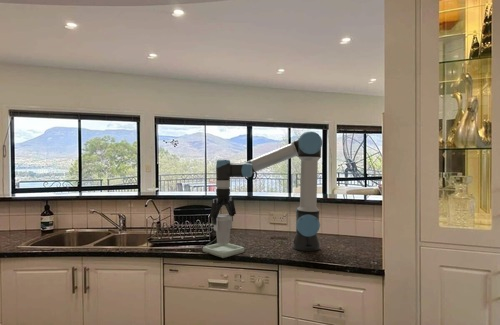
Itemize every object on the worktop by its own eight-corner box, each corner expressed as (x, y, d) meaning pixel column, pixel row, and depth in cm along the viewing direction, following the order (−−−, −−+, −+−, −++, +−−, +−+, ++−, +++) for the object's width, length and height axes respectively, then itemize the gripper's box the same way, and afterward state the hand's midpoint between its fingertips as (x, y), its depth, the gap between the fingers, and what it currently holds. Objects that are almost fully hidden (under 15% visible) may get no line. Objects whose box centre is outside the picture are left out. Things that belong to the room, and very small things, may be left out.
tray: (244, 252, 176) (244, 247, 176) (223, 258, 165) (223, 253, 165) (223, 246, 188) (223, 241, 188) (202, 251, 177) (202, 246, 177)
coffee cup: (234, 241, 179) (234, 214, 179) (226, 246, 170) (226, 217, 170) (219, 239, 183) (219, 213, 183) (210, 244, 174) (210, 216, 174)
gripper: (233, 186, 186) (233, 225, 187) (202, 188, 171) (202, 231, 171) (242, 187, 181) (242, 227, 182) (211, 189, 165) (211, 233, 166)
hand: (223, 229), depth 176 cm, fingers closed on coffee cup, 9 cm apart
